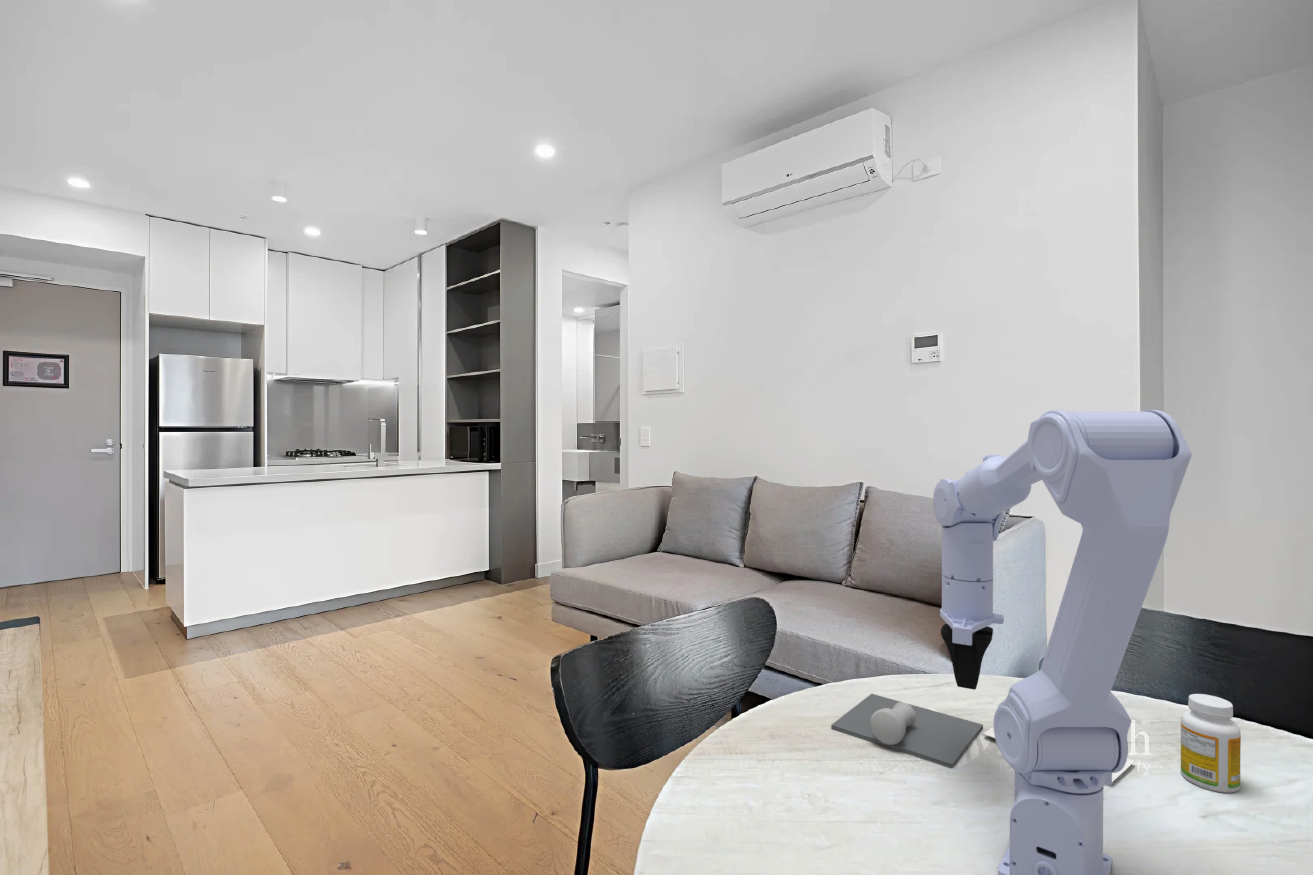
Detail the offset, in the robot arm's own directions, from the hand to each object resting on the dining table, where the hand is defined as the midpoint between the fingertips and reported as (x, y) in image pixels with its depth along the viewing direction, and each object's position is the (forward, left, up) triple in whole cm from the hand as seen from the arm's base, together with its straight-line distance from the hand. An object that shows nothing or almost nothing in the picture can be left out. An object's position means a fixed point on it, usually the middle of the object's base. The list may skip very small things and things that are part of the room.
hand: (966, 686), depth 79 cm
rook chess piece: (-2, +9, -7) cm, 12 cm away
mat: (+5, +9, -10) cm, 15 cm away
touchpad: (+12, -8, -11) cm, 18 cm away
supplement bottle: (+15, -23, -10) cm, 29 cm away
